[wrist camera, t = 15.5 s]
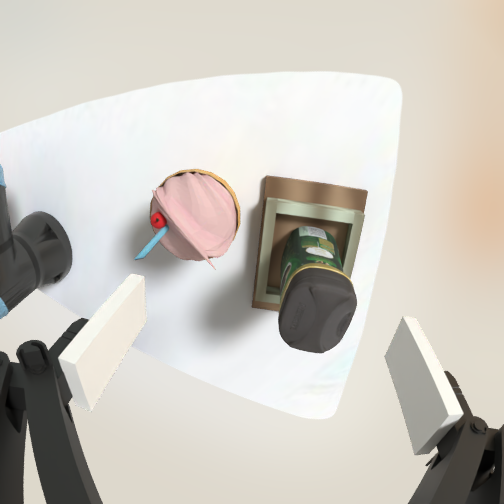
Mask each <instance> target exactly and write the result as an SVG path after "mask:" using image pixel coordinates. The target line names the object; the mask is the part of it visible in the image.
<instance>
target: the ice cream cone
mask: <svg viewBox="0 0 504 504" xmlns="http://www.w3.org/2000/svg"><path fill="white" fill-rule="evenodd" d="M152 192H153V195H154V196H153V198H152V201H151V205H150V219H151V225H152V227H153V231H154V232H155V234H156V235H155V236H154V237H153V239H152V240H151V241H150V242H149V243H148V244H147V245H146V246H145V247H144V249H143V250H142V251H141V252H140V253H139V254H138V255H137V256H136V258H135V259H134V260H137V259H142V258H144V257H145V256H146V255H147V254H148V253H149V251H150V250H151V249H152V248H153V247H154V246H155V245H156V243H157V242H158V241H160V243H161V244H162V245H163V246H164V247H165V248H166V249H167V250H169V251H170V252H171V253H172V254H174V255H175V256H176V257H178V258H180V259H184V260H195V261H202V260H205V259H206V260H207V261H208V262H209V263H210V265H211V266H212V267H213V268H214V266H213V265H212V263H211V262H210V260H209V259H210V258H213V257H215V258H218V257H220V256H222V255H224V253H225V252H227V250H228V248H229V247H230V245H231V243H232V241H233V240H234V238H235V236H236V233H237V231H238V228H239V226H240V206H239V204H238V201H237V198H236V195H235V193H234V191H233V190H232V189H231V187H230V186H229V185H228V183H227V182H226V181H225V180H223V179H222V178H220V177H218V176H217V175H215V174H213V173H212V172H208V171H204V170H200V169H191V170H182V171H179V172H177V173H175V174H173V175H171V176H169V177H167V178H166V179H165V180H164V181H163V182H162V184H161V185H160V186H159V187H158V188H156V191H154V190H152ZM214 269H215V268H214ZM215 270H216V269H215Z"/></svg>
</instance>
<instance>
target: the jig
mask: <svg viewBox="0 0 504 504" xmlns="http://www.w3.org/2000/svg"><path fill="white" fill-rule="evenodd" d="M367 193H368V191H366V190H362V189H356V188H350V187H344V186H338V185H332V184H325V183H319V182H312V181H305V180H298V179H290V178H283V177H275V176H266V185H265V194H264V203H263V212H262V221H261V230H260V239H259V248H258V257H257V266H256V275H255V284H254V292H253V301H252V308H260V309H267V310H275V311H279V306H280V285H281V277H280V267H281V259H282V255H283V251H284V248H285V245H286V242H287V240H288V238H289V236H290V234H291V233H292V231H293V230H295V229H296V228H298V227H301V226H310V227H315V228H319V229H322V230H324V231H327V232H328V233H330V234H331V235H332V236H333V237H334V239H335V241H336V244H337V247H338V251H339V256H340V260H341V264H342V268H343V271H344V273H345V274H346V275H347V276H348V277H349V279H350V278H351V274H352V270H353V266H354V262H355V258H356V253H357V249H358V245H359V240H360V236H361V231H362V226H363V222H364V217H365V215H364V209H365V204H366V199H367Z"/></svg>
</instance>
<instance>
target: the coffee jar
mask: <svg viewBox="0 0 504 504" xmlns="http://www.w3.org/2000/svg"><path fill="white" fill-rule="evenodd" d="M280 277H281V285H280V306H279V317H278V322H279V332H280V335H281V337H282V339H283V340H284V341H285V342H286V343H287V344H288V345H289V346H290V347H292V348H295V349H299V350H303V351H307V352H314V353H324V352H326V351H328V350H330V349H332V348H333V347H335V346H336V345H337V344H338V343H339V342H340V341H341V339H342V338H343V336H344V334H345V332H346V330H347V329H348V327H349V325H350V322H351V320H352V317H353V315H354V312H355V310H356V306H357V299H356V294H355V292H354V287H353V284H352V282H351V280H350V279H349V277H348V276H347V275H346V274H345V273H344V271H343V268H342V264H341V260H340V256H339V251H338V247H337V244H336V241H335V239H334V237H333V236H332V235H331V234H330V233H328V232H327V231H324V230H322V229H319V228H315V227H310V226H301V227H298V228H296V229H295V230H293V231H292V233H291V234H290V236H289V238H288V240H287V242H286V245H285V248H284V251H283V255H282V259H281V267H280Z"/></svg>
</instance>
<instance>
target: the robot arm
mask: <svg viewBox="0 0 504 504" xmlns="http://www.w3.org/2000/svg"><path fill="white" fill-rule="evenodd" d="M5 188H6V184H5V182H4V175H3V169H2V166H1V165H0V319H1V318H2V317H4V316H6V315H7V314H8V312H10V311H11V310H12V309H13V308H14V307H15V306H16V305H18V304H19V303H20V302H21V301H22V300H23V299H24V298H26V297H27V296H28V295H29V294H30V293H32V292H33V291H34V290H35V289H36V288H38V287H42V286H46V285H50V284H53V283H56V282H58V281H60V280H61V279H62V278H64V277H65V276H66V275H67V274H68V272H69V271H70V268H71V265H72V249H71V245H70V241H69V239H68V236H67V234H66V232H65V230H64V229H63V227H62V226H61V224H60V223H59V222H58V221H57V220H56V219H55V218H54V217H53V216H51V215H50V214H48V213H45V212H34V213H32V214H30V215H28V216H26V217H25V218H24V219H23V220H22V221H21V222H20V223H19V224H18V225H17V227H16V228H15V229H14V230H13V232H12V230H11V225H10V219H9V213H8V207H7V199H6V192H5ZM146 321H147V316H146V298H145V276H141V275H136V274H130V275H129V276H128V277H127V278H126V279H125V281H124V282H123V283H122V284H121V285H120V286H119V287H118V288H117V289H116V290H115V292H114V293H113V294H112V295H111V296H110V297H109V298H108V299H107V300H106V302H105V303H104V304H103V305H102V306H101V307H100V308H99V310H98V311H97V312H96V313H95V314H94V315H93V316H92V318H91V319H90V320H88V319H84V318H81V319H79V320H77V321H76V322H74V323H72V324H71V325H70V327H69V328H68V329H67V330H66V332H64V333H63V334H62V336H61V337H60V338H59V339H58V340H57V341H56V342H55V344H54V345H53V346H52V347H51V348H50V349H49V350H48V349H47V347H46V345H45V344H44V343H43V342H42V341H38V340H30V341H27V342H24V343H23V344H21V345H20V346H19V348H18V349H17V352H16V355H17V357H18V359H19V362H20V363H15V362H10V360H9V358H8V356H7V354H6V353H4V352H1V351H0V504H24V501H23V500H24V499H23V475H24V452H25V439H26V428H27V419H28V424H29V431H30V437H31V442H32V448H33V452H34V457H35V461H36V466H37V470H38V474H39V478H40V482H41V486H42V490H43V492H44V496H45V500H46V503H47V504H103V503H102V501H101V498H100V496H99V493H98V491H97V489H96V486H95V484H94V481H93V479H92V476H91V474H90V471H89V468H88V465H87V462H86V460H85V457H84V454H83V451H82V448H81V445H80V441H79V438H78V435H77V431H76V428H75V424H74V421H73V417H72V413H71V410H70V406H69V404H68V403H69V401H70V400H71V398H72V397H73V399H74V402H75V404H76V406H78V407H81V408H83V409H86V410H88V411H91V412H92V410H93V409H94V407H95V405H96V403H97V402H98V400H99V398H100V396H101V395H102V393H103V391H104V390H105V388H106V386H107V385H108V383H109V381H110V380H111V378H112V376H113V374H114V373H115V371H116V369H117V368H118V366H119V365H120V363H121V361H122V360H123V358H124V356H125V355H126V353H127V351H128V350H129V348H130V347H131V345H132V344H133V342H134V340H135V339H136V337H137V336H138V334H139V332H140V331H141V329H142V328H143V326H144V325H145V323H146ZM385 359H386V362H387V365H388V368H389V371H390V374H391V377H392V380H393V383H394V386H395V389H396V392H397V395H398V398H399V402H400V405H401V408H402V412H403V415H404V419H405V422H406V425H407V429H408V432H409V436H410V440H411V443H412V447H413V451H414V454H415V455H421V454H429V453H430V452H431V451H432V450H433V449H434V448H435V447H436V446H437V449H438V453H437V454H436V455H435V456H434V457H433V458H432V459H431V460H430V461H429V462H428V463H427V464H426V466H428V465H429V464H430V463H431V464H430V466H429V468H428V470H427V471H426V473H425V475H424V477H423V479H422V481H421V483H420V484H419V486H418V488H417V489H416V491H415V493H414V495H413V496H412V498H411V499H410V501H409V503H408V504H504V424H503V426H502V427H501V428H500V429H499V430H498V429H492V428H488V426H487V424H486V423H485V421H484V420H482V419H481V418H479V417H476V416H473V415H472V413H471V410H470V408H469V406H468V404H467V402H466V400H465V398H464V396H463V395H462V391H461V389H460V388H459V385H458V384H457V381H456V379H455V378H454V377H453V376H452V375H451V374H450V373H449V372H448V371H443V369H442V367H441V365H440V363H439V361H438V359H437V357H436V355H435V353H434V351H433V349H432V348H431V346H430V344H429V342H428V340H427V338H426V336H425V335H424V333H423V331H422V329H421V327H420V325H419V324H418V322H417V320H416V318H415V317H406V316H403V317H402V319H401V322H400V324H399V326H398V329H397V331H396V333H395V335H394V337H393V340H392V342H391V344H390V346H389V349H388V351H387V352H386V355H385ZM494 467H495V468H494ZM493 468H494V472H493Z"/></svg>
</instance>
